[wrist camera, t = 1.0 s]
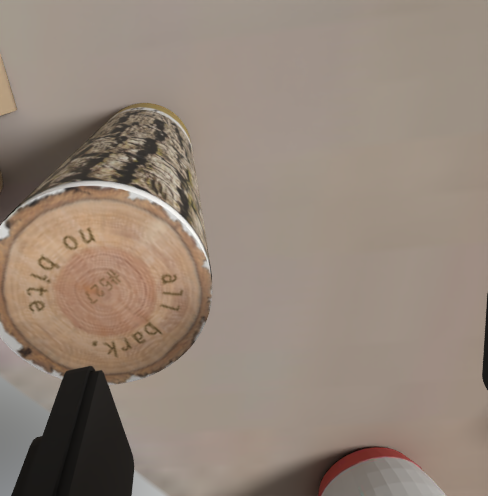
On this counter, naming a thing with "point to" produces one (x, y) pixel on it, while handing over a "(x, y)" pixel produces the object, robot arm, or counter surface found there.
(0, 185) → the white-capped tan cylinder
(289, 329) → the counter surface
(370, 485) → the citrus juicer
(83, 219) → the paper tube
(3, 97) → the carton
